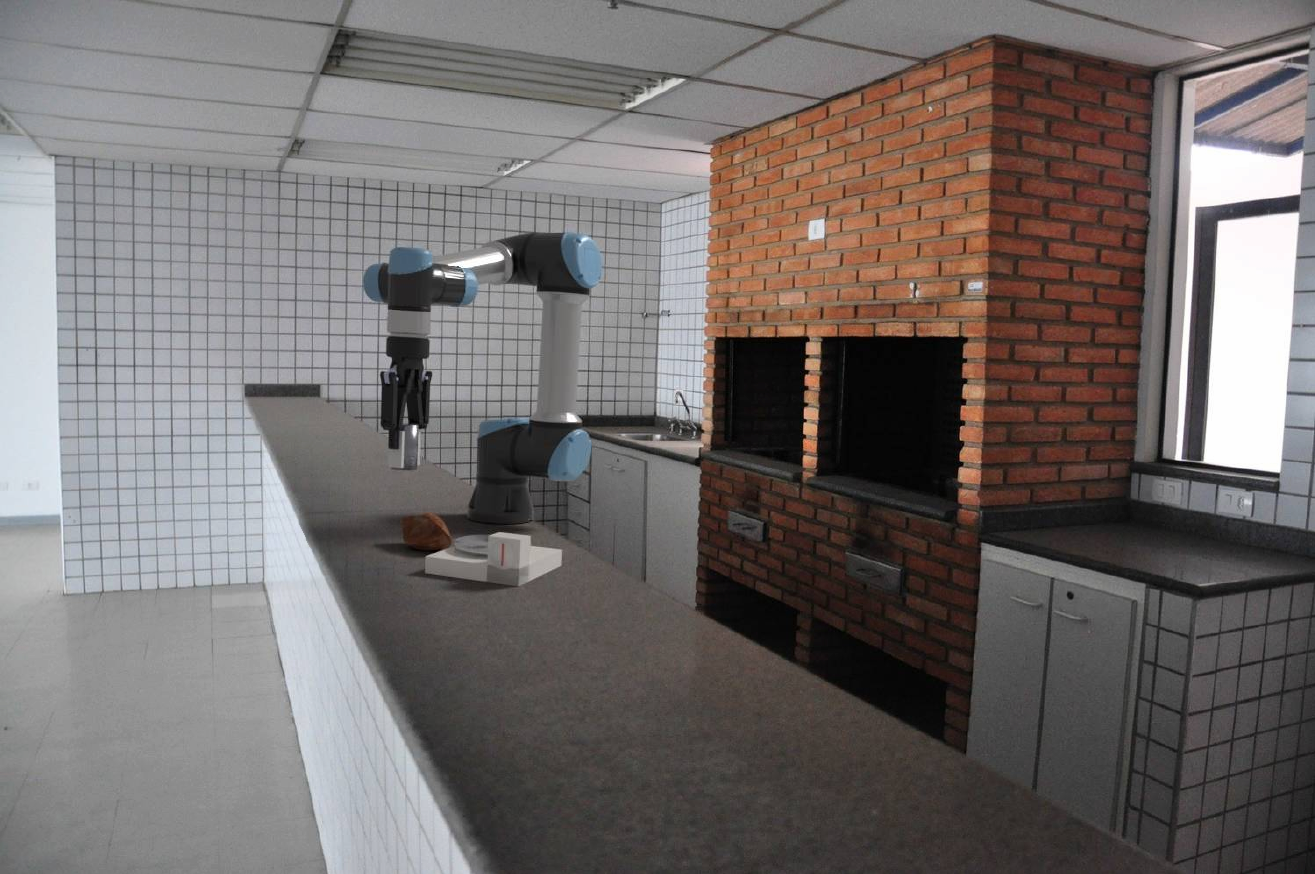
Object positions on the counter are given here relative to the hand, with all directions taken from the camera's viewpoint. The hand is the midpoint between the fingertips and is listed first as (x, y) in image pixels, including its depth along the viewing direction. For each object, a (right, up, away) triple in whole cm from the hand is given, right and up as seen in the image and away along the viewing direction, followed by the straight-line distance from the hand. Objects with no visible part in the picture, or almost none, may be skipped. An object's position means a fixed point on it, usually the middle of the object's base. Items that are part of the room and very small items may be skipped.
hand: (404, 465), depth 181 cm
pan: (+16, -15, +2) cm, 22 cm away
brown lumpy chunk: (+1, -17, +14) cm, 22 cm away
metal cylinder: (0, -1, 0) cm, 1 cm away
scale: (+16, -19, 0) cm, 25 cm away
